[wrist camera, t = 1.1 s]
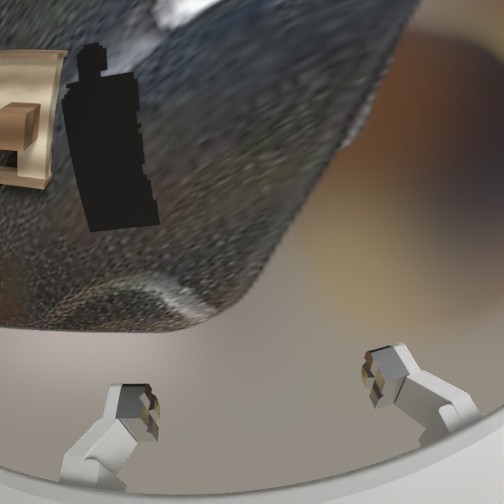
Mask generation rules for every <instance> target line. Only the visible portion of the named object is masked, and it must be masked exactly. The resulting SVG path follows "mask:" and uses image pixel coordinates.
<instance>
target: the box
mask: <svg viewBox="0 0 504 504" xmlns="http://www.w3.org/2000/svg"><path fill="white" fill-rule="evenodd" d="M67 55H68V51H64V50H37V49H19V50H0V109H1V108H3V107H4V106H6V105H8V104H9V103H11V102H21V103H37V104H41V109H40V118H39V130H38V138H37V139H36V140H35V141H34V142H33V143H32V144H31V145H30V146H29V147H28V148H27V149H26V150H25V151H18V155H17V167H18V168H13V167H4V166H0V184H7V185H15V186H22V187H30V188H37V189H45V187H46V186H47V184H48V183H49V181H50V180H51V178H52V177H53V172H50V171H51V151H52V138H53V127H54V118H55V109H56V102H57V95H58V89H59V83H60V77H61V71H62V66H63V61H64V57H66V56H67Z"/></svg>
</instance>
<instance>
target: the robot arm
mask: <svg viewBox="0 0 504 504" xmlns="http://www.w3.org/2000/svg"><path fill="white" fill-rule="evenodd" d="M365 360H366V362H365V364H364V365H363V366H362V379H363V383H364V385H365V387H366V388H368V389H369V390H371V393H370V399H371V401H372V403H373V405H374V408H375V409H377V408H381V407H384V406H388V405H392V404H394V405H395V406H397V407H398V408H399V409H401V410H402V411H403V412H405V413H406V414H407V415H409V416H410V417H412V418H413V419H414V420H415V421H417V422H418V423H419V424H421V425H422V426H423V427H425V428H426V429H425V431H424V432H423V434H422V435H421V437H420V438H419V442H420V445H421V447H419V448H417V449H415V450H412V451H409V452H407V453H404V454H402V455H399V456H396V457H393V458H391V459H388V460H385V461H382V462H379V463H376V464H373V465H370V466H366V467H363V468H360V469H356V470H353V471H350V472H346V473H342V474H339V475H335V476H330V477H326V478H322V479H318V480H313V481H308V482H304V483H298V484H293V485H288V486H281V487H275V488H268V489H261V490H253V491H244V492H234V493H220V494H197V495H162V494H141V493H128V492H126V484H125V483H124V482H122V481H121V480H120V479H119V478H118V477H116V476H115V475H116V474H117V473H118V471H119V470H120V468H121V467H122V465H123V464H124V462H125V461H126V460H127V458H128V457H129V455H130V454H131V452H132V451H133V449H134V448H135V447H136V445H137V444H138V443H137V442H158V431H159V427H158V426H157V424H156V421H157V420H158V419H159V417H160V416H159V415H160V408H159V402H158V399H157V397H156V396H155V395H154V394H152V393H151V392H152V388H151V387H150V385H149V384H111V386H110V387H109V390H108V394H107V399H106V403H105V408H104V412H103V417H102V419H101V418H99V419H98V420H97V421H96V422H95V423H94V424H93V425H92V426H91V427H90V429H89V430H88V431H87V432H86V433H85V434H84V435H83V436H82V437H81V438H80V439H79V440H78V441H77V442H76V443H75V444H74V445H73V446H72V447H71V449H70V450H69V451H68V452H67V453H66V454H65V455H64V460H63V464H62V469H61V474H60V480H59V482H56V481H51V480H47V479H42V478H39V477H35V476H31V475H27V474H24V473H20V472H17V471H13V470H11V469H8V468H4V467H1V466H0V504H504V405H502V406H501V407H499V408H497V409H496V410H494V411H492V412H490V413H489V414H487V415H485V416H483V417H482V416H481V414H480V412H479V411H478V409H477V407H476V406H475V404H474V403H473V401H472V399H471V397H470V396H469V394H468V393H466V392H464V391H462V390H460V389H458V388H456V387H454V386H452V385H450V384H449V383H447V382H445V381H443V380H441V379H439V378H438V377H436V376H434V375H432V374H430V373H428V372H426V371H425V370H424V371H421V370H420V368H419V367H418V365H417V363H416V362H415V360H414V359H413V357H412V355H411V354H410V352H409V351H408V349H407V347H406V346H405V344H404V343H402V342H400V343H397V344H393V345H390V346H389V345H388V346H385V347H382V348H378V349H374V350H370V351H367V352H366V354H365Z"/></svg>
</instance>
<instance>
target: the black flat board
mask: <svg viewBox="0 0 504 504" xmlns="http://www.w3.org/2000/svg"><path fill="white" fill-rule="evenodd" d="M77 57H78V69H79V80H80V81H79V82H74V83H70V84H66V86H67V88H68V87H70V91H67V95H64V96H65V99H62V106H63V112H64V119H65V125H66V131H67V136H68V141H69V147H70V152H71V157H72V161H73V166H74V170H75V175H76V179H77V183H78V187H79V191H80V195H81V199H82V203H83V207H84V210H85V214H86V218H87V221H88V225H89V228H90V231H91V232H94V231H103V230H111V229H120V228H130V227H139V226H149V225H159V224H160V223H159V216H158V209H157V202H156V200H153V196H152V189H151V181H150V180H148V181H147V176H146V175H143V171H142V163H145V160H144V151H143V142H142V133H141V134H138V127H141V123H140V124H137V116H136V111H137V110H140V109H139V96H138V80H137V79H134V75H133V72H129V73H123V74H116V75H110V76H104V77H101V75H100V70H105V69H107V56H106V48H103V49H102V45H101V46H99V42H98V43H93V44H88V45H84V49H82V50H81V53H79V54H77Z"/></svg>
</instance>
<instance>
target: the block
mask: <svg viewBox="0 0 504 504" xmlns="http://www.w3.org/2000/svg"><path fill="white" fill-rule="evenodd" d="M40 109H41V104H37V103H21V102H11V103H9V104H8V105H6V106H4V107H3V108H1V109H0V149H3V150H13V151H25V150H26V149H27V148H28V147H29V146H30V145H31V144H32V143H33V142H34V141H35V140H36V139H37V138H38V130H39V118H40Z"/></svg>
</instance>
